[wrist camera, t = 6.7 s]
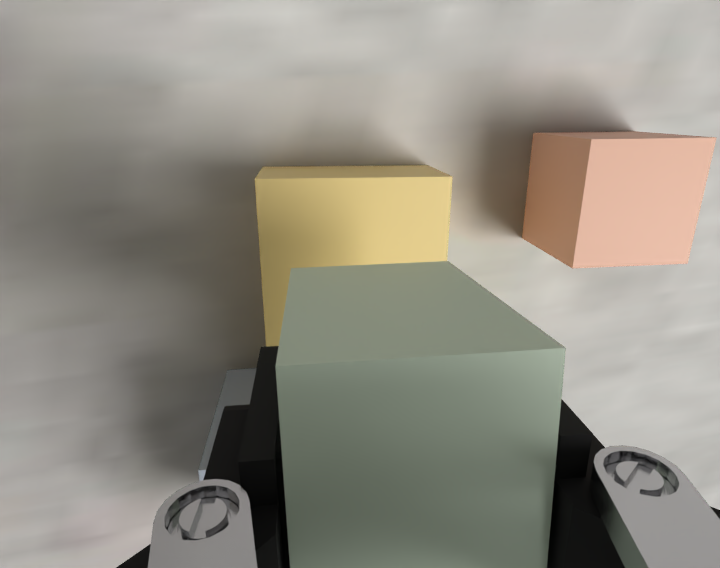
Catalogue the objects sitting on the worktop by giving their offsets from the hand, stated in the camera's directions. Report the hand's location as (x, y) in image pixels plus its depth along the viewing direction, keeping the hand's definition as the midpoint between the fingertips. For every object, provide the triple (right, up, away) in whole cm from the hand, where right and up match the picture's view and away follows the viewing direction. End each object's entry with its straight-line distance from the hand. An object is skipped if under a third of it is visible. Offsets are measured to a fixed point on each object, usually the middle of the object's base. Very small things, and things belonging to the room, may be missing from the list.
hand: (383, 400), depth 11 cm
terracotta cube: (+8, +7, +8) cm, 13 cm away
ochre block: (-1, +3, +8) cm, 9 cm away
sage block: (0, 0, +2) cm, 2 cm away
